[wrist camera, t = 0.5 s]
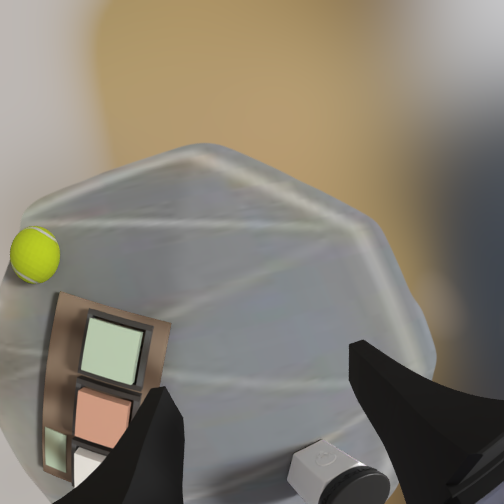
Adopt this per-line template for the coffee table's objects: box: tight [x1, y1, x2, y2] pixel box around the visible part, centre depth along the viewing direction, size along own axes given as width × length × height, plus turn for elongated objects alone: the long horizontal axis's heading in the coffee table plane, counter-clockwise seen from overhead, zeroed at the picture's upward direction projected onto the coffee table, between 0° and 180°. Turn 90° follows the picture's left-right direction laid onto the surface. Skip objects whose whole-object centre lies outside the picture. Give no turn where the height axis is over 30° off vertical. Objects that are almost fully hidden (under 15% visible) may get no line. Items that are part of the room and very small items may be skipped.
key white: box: [74, 447, 107, 488], centre depth 22 cm, size 6×6×2 cm
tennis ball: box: [10, 226, 60, 284], centre depth 27 cm, size 7×7×7 cm
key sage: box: [81, 318, 143, 385], centre depth 27 cm, size 6×6×2 cm
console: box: [42, 291, 171, 487], centre depth 26 cm, size 25×14×3 cm, turn 170°
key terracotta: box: [75, 387, 131, 448], centre depth 24 cm, size 6×6×2 cm
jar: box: [287, 439, 390, 504], centre depth 26 cm, size 9×8×12 cm
